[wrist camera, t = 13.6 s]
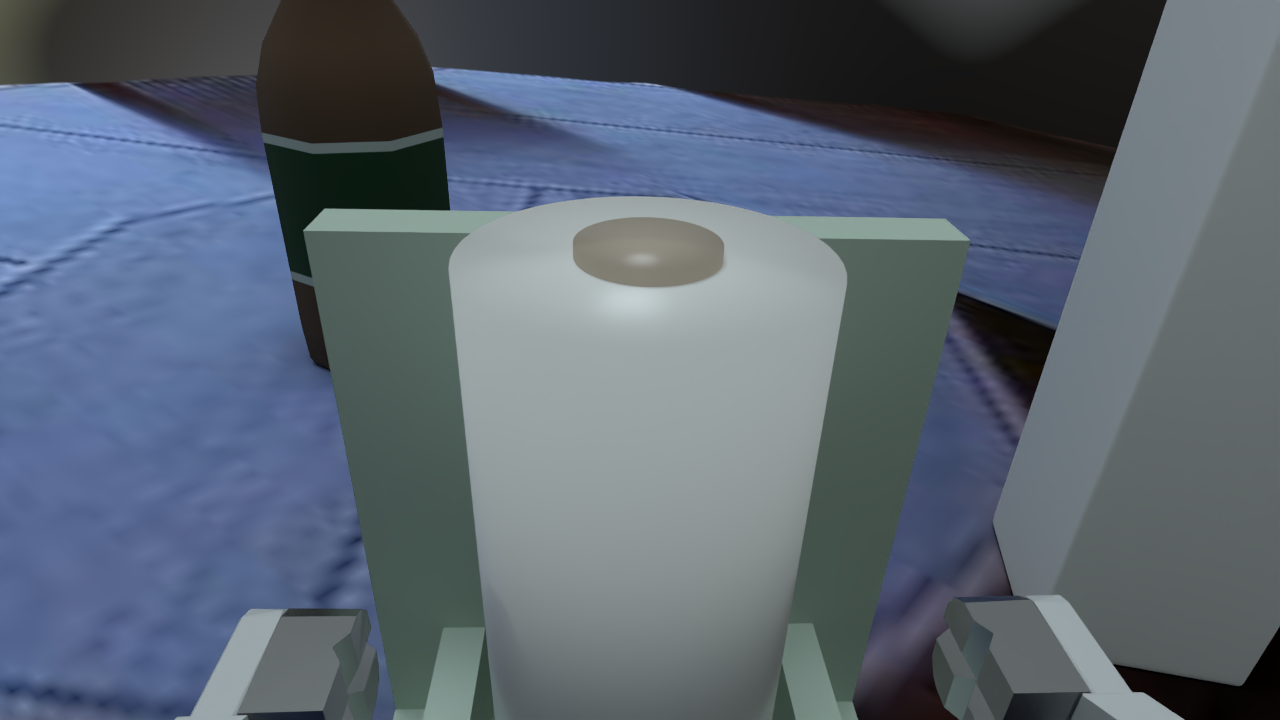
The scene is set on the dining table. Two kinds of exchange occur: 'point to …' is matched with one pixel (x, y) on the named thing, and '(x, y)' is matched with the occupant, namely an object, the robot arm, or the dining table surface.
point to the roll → (641, 449)
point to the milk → (1169, 371)
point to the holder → (438, 461)
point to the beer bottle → (346, 124)
